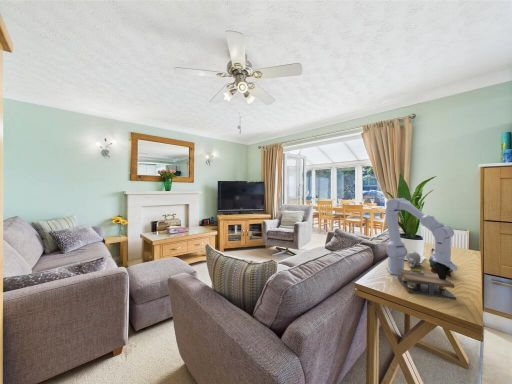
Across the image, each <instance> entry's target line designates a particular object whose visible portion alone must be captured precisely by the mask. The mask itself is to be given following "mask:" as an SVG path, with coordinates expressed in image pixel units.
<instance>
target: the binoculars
mask: <svg viewBox="0 0 512 384" xmlns="http://www.w3.org/2000/svg"><path fill="white" fill-rule="evenodd" d="M433 255H434V254H433ZM433 263H436V262H434V261H432V259H431V262H430V263H429V267H430V271H431V272H432V273H436V274H438V273H437V270H436V268H435V266H434V265H433ZM453 271H454V270H450V271H449V272H448V274H447V277H451V275H452V273H453Z"/></svg>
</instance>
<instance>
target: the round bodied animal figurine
mask: <svg viewBox="0 0 512 384" xmlns="http://www.w3.org/2000/svg"><path fill="white" fill-rule="evenodd" d="M405 258H406V260H407V263H408V266H409V267H410V269H414V268H415V266H416V267H417V266H420V263H421V255H420V254H419V253H418V252H416V251H413V250H412V251H407V255H406V256H405Z"/></svg>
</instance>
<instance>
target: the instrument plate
mask: <svg viewBox="0 0 512 384" xmlns="http://www.w3.org/2000/svg"><path fill="white" fill-rule="evenodd" d="M399 273H400V274H401V275H400V276H401V277H404V279H405V280H406V281H407V282H410V283H418V284H425V285H428V283H431V284H434V286H441V287H445V288H451V289H455V286H456V285H455V284H454V283H453V282H452V281H450V280H449V279H448V278H446V279H440V278H439V277H438V274H436V273H434V272H425V271H422V269H416V268H415V269H414V268H410V269H409V270H407V269H404V270H400V269H399Z"/></svg>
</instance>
